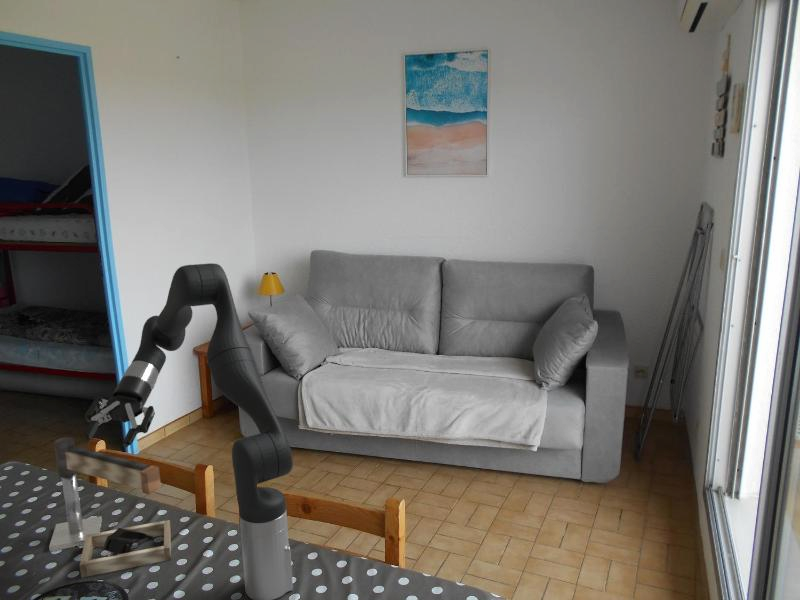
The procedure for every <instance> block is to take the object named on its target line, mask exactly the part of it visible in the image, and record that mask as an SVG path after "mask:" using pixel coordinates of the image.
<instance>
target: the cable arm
mask: <svg viewBox="0 0 800 600" xmlns="http://www.w3.org/2000/svg"><path fill="white" fill-rule="evenodd" d="M53 445H54V452H55V460H56V467H57V472H58V477H59V478H61V477H70V476H73V475H75V474H76V475H77V473H81V474H85V475H88V476H91V477H94V478H95V477H96V478H99V479H102V480H106V481H110V482H112V483H117V484H120V485H124V486H128V487H131V488H135V489H137V490H138V489H139V490H140V491H142V493H143V494H145V495H147V496H148V495H152V494H154V493H155V492H157V491H159V490H160V489H161V488H162V485H161V483H162V482H161V475H160V467H158V466H156V465H150V466H149V464H146V463H142V462H139V461H135V460H131V459H126V458H123V457H119V456H114V455H111V454H108V453H103V452H99V451H96V450H93V449H87V448H83V447H80V446H77V445H75V440H74V438H73V437H70V436H69V437H68V436H67V437H60V438H58V439H56V440H55V441H54V442H53Z"/></svg>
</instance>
